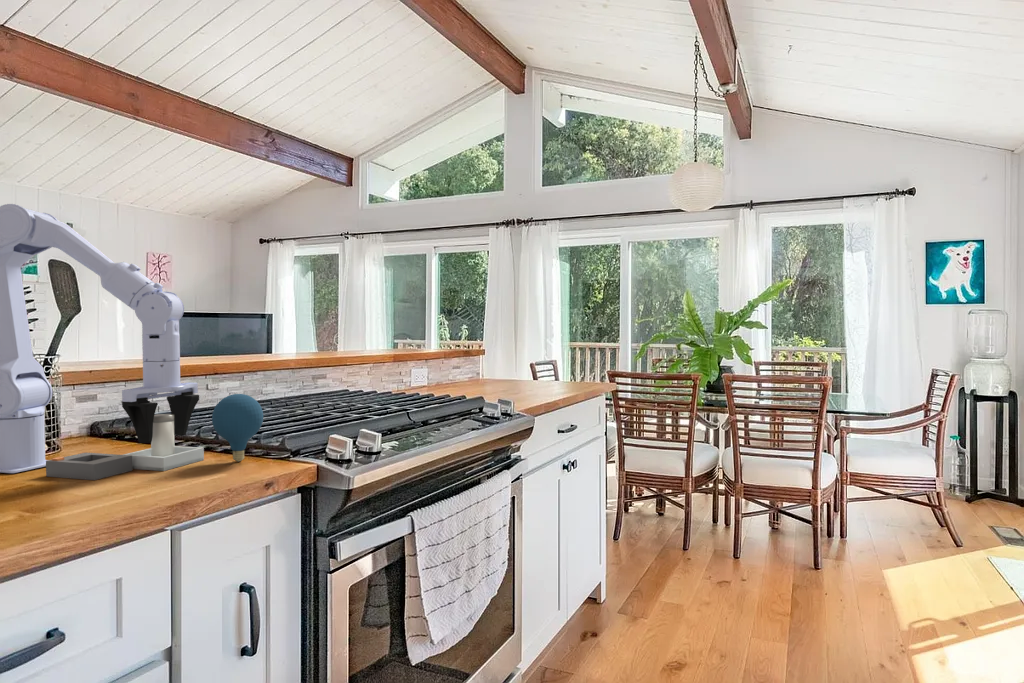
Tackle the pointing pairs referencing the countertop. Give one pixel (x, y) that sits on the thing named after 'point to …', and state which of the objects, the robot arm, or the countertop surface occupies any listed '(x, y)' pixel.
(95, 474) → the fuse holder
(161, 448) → the cylinder
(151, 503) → the countertop surface
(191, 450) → the parts tray
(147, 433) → the robot arm
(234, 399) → the light bulb
